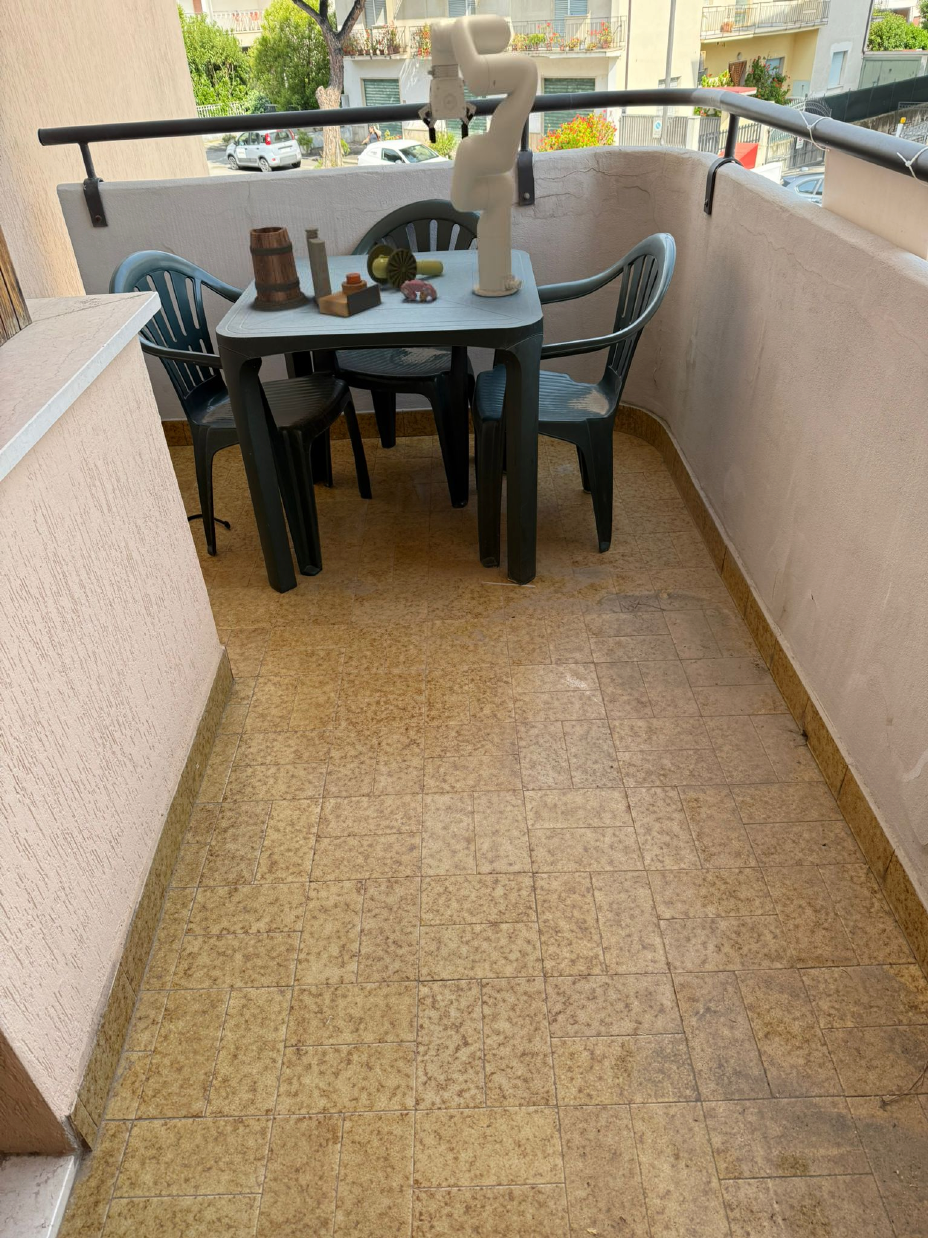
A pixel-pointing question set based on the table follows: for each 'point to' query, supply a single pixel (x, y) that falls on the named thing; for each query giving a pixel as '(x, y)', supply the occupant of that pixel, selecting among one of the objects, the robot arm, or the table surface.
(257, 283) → the tankard
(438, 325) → the table surface
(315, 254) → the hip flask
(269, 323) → the table surface
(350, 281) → the power button
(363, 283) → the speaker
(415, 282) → the pink lumpy mass
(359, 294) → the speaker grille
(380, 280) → the cannon
